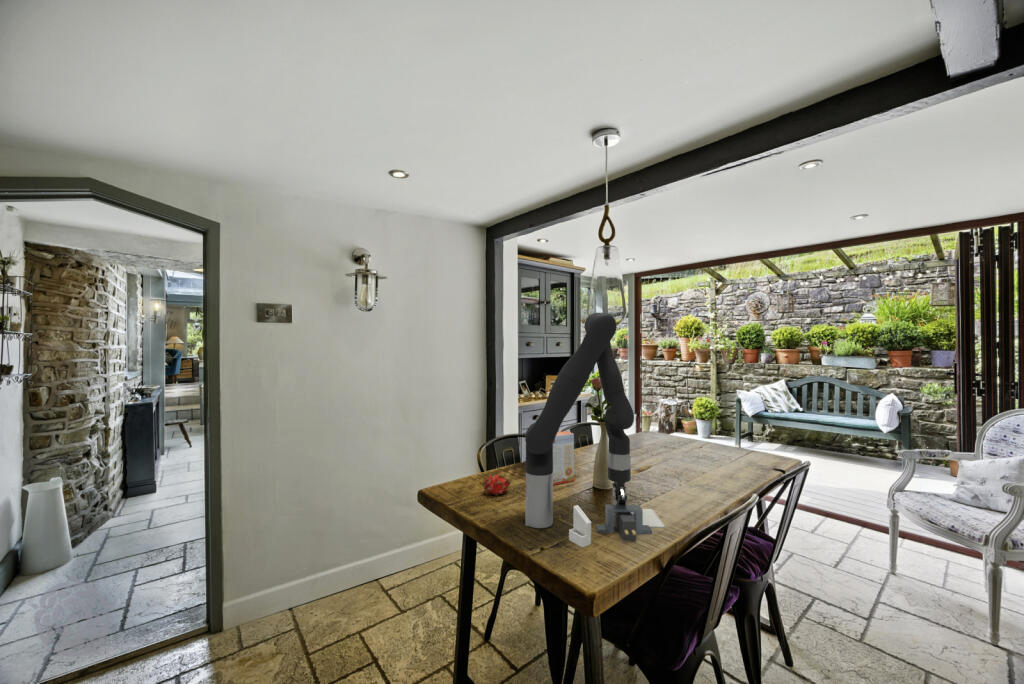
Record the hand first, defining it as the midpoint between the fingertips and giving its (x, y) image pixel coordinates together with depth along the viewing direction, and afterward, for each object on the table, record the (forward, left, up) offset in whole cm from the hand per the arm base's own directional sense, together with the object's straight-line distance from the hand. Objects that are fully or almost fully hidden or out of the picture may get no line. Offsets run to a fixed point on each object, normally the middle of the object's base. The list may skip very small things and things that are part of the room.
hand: (619, 516), depth 144 cm
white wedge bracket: (-15, -15, -2) cm, 22 cm away
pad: (+10, +2, -2) cm, 10 cm away
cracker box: (-18, +38, -2) cm, 42 cm away
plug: (0, -9, -2) cm, 9 cm away
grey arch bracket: (0, -7, -2) cm, 7 cm away
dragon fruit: (-43, +24, -2) cm, 49 cm away
